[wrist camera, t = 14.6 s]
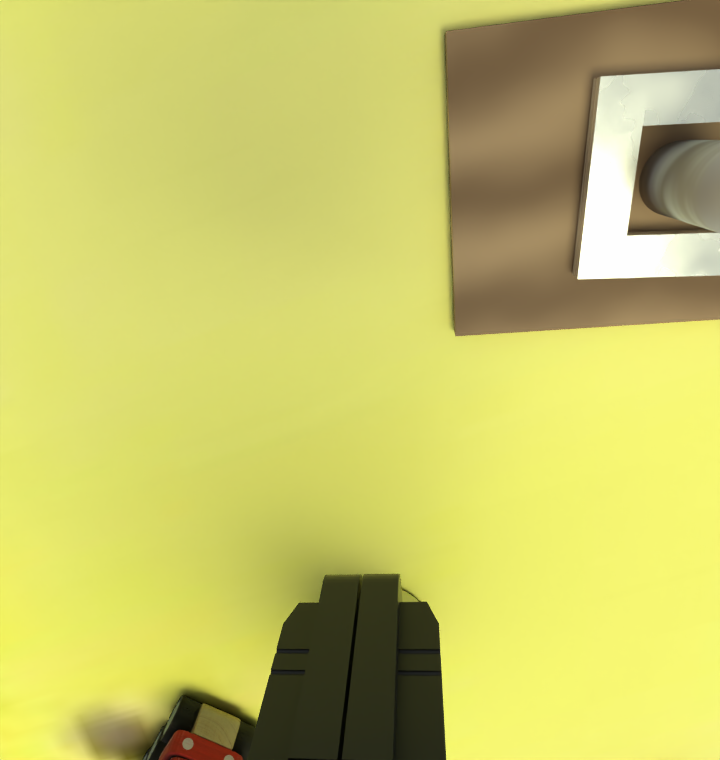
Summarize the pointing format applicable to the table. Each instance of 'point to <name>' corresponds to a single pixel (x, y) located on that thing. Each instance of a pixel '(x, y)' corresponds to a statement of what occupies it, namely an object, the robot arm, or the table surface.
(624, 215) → the flange plate
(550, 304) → the flange base
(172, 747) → the toy fire truck
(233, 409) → the table surface
